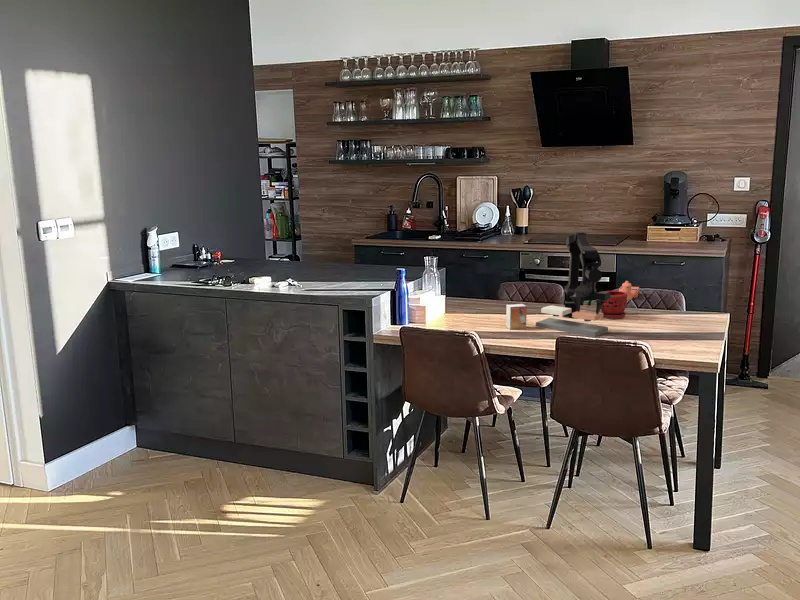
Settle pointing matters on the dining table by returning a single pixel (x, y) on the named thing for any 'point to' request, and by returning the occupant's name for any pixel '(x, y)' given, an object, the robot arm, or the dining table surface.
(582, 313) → the terracotta key
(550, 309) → the cream rectangular block
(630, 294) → the pottery
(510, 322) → the small box
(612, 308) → the plant pot
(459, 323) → the dining table surface
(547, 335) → the dining table surface
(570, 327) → the key panel
